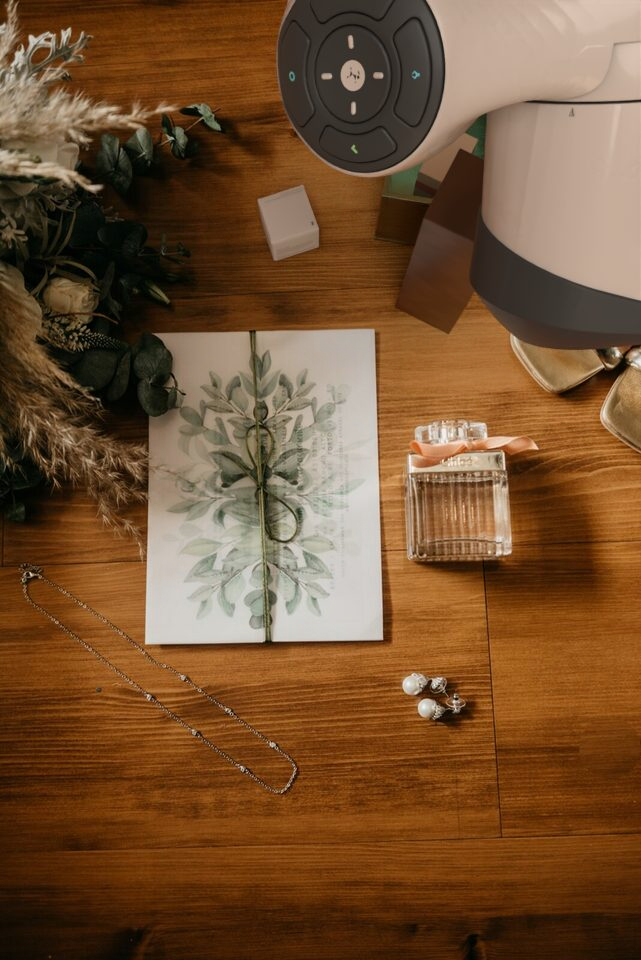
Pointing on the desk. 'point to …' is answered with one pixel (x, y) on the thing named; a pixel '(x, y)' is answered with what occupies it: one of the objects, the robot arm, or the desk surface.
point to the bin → (412, 197)
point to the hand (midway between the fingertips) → (479, 18)
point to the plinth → (445, 248)
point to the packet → (440, 166)
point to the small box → (289, 222)
